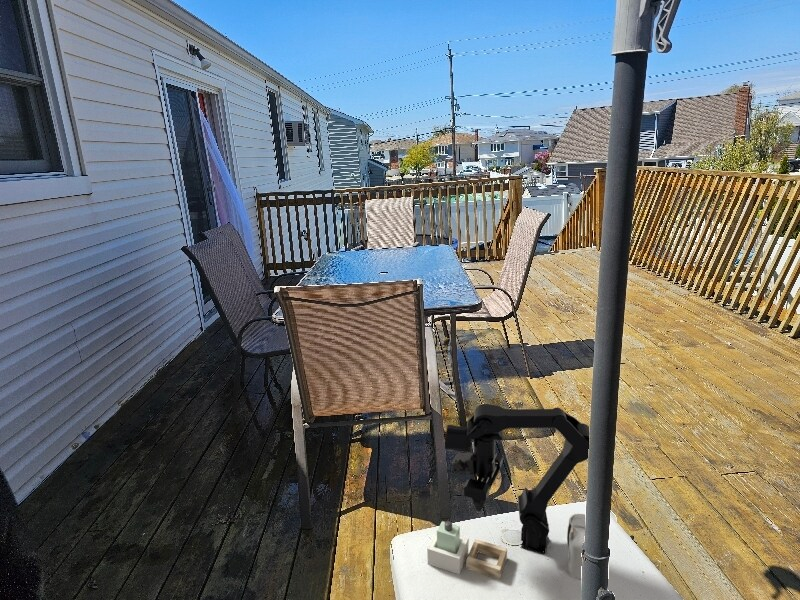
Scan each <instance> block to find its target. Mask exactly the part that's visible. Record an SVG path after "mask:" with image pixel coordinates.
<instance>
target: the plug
mask: <svg viewBox="0 0 800 600" xmlns="http://www.w3.org/2000/svg"><path fill="white" fill-rule="evenodd" d="M437 529H438V530H436V531H437V548H438V549H442V550H445V551H448V552H451V553H454V554H457V552H458V550H459V548H460V536H461V534H460V533H461V532H460V531H461V527H460V525H457V524H453V522H451V521H450V520H447V521H443V520H442V521H441V523H440V525H439V526H438V528H437Z"/></svg>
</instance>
